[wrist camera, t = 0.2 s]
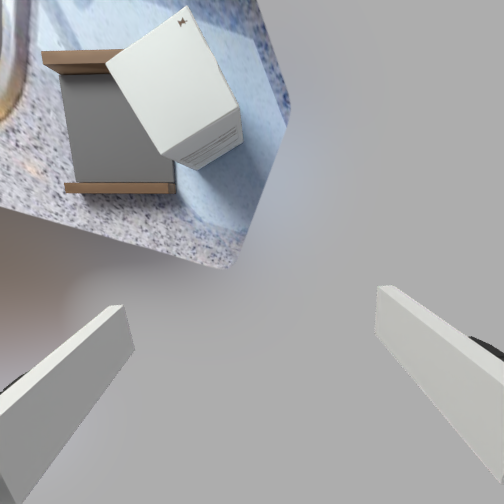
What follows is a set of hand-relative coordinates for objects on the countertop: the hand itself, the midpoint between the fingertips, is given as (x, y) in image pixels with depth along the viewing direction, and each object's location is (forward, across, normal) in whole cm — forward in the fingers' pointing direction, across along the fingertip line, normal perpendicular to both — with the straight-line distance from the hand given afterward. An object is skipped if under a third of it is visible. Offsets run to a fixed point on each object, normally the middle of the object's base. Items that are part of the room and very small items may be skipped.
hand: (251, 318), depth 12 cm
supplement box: (+28, -6, +16) cm, 33 cm away
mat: (+29, -19, +17) cm, 38 cm away
